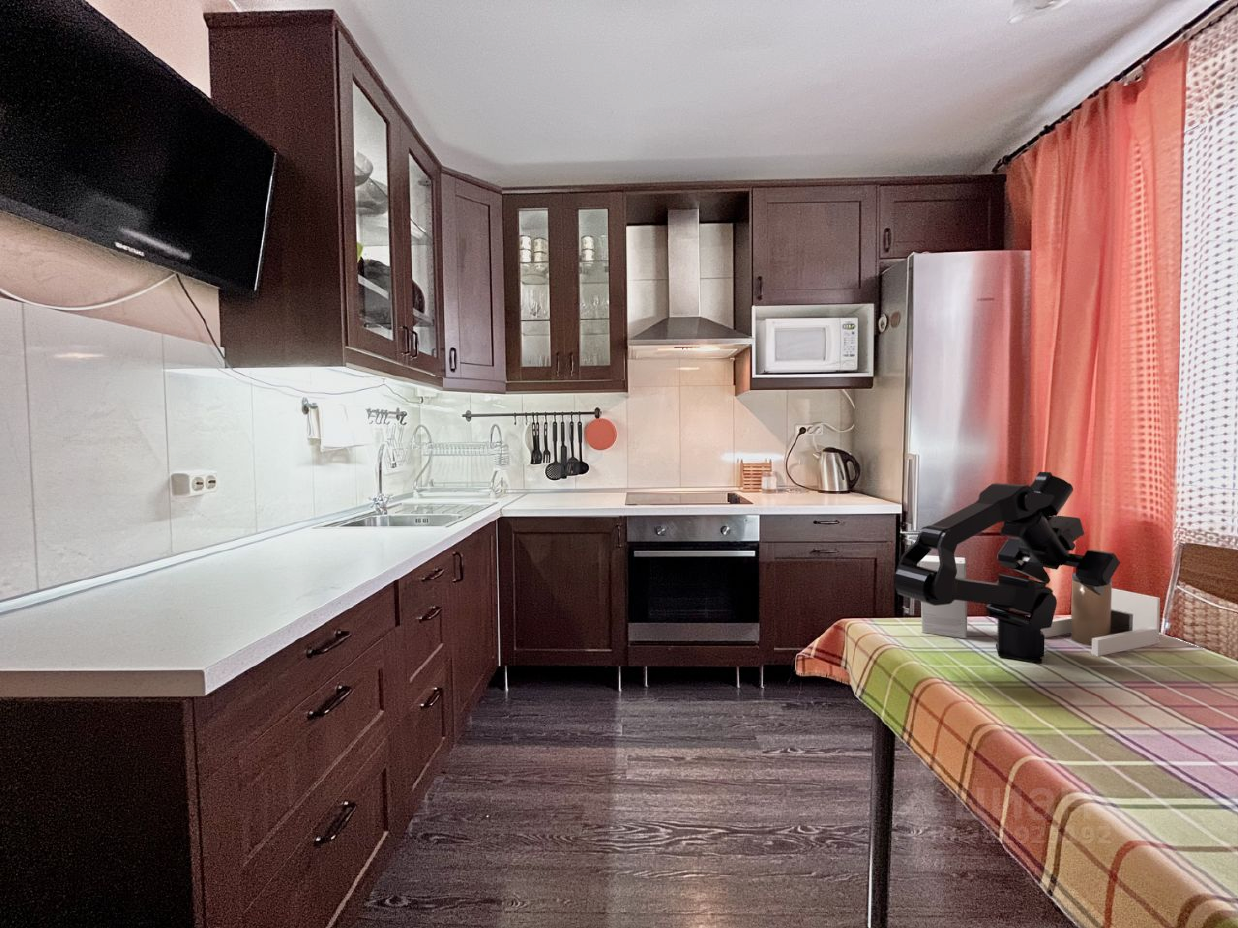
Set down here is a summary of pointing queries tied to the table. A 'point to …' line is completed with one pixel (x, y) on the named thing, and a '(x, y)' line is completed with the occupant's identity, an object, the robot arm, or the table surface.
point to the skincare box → (945, 606)
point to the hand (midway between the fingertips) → (1073, 587)
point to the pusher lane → (1142, 634)
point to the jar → (1090, 612)
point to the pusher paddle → (1121, 622)
